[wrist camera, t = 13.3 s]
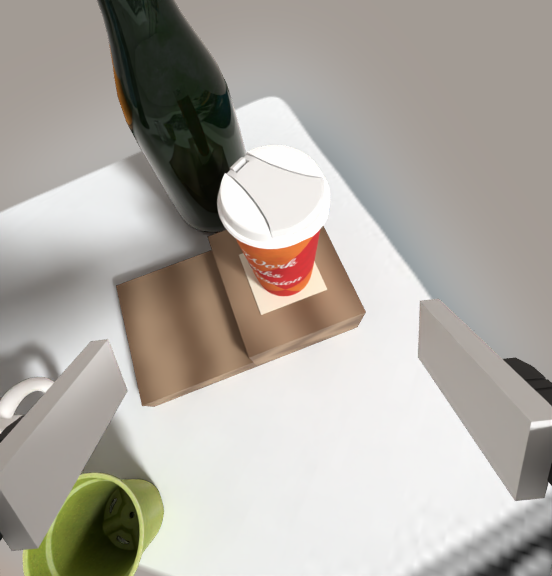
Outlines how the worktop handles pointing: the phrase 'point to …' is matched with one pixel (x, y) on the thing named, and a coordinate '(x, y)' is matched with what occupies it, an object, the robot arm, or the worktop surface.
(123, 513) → the plant pot
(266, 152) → the paper cup
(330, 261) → the step riser
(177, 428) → the worktop surface
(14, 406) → the mug
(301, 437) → the worktop surface
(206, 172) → the dark green wine bottle
